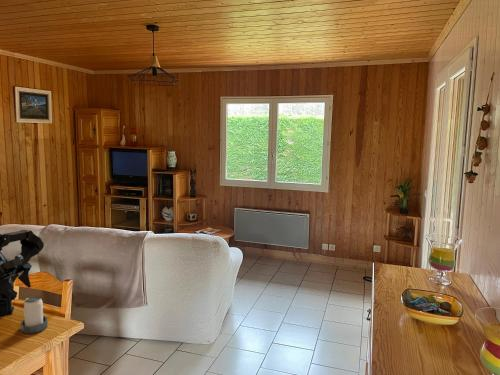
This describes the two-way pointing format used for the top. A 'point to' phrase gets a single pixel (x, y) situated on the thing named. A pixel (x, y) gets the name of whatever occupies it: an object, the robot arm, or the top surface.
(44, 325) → the collar
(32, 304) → the can
